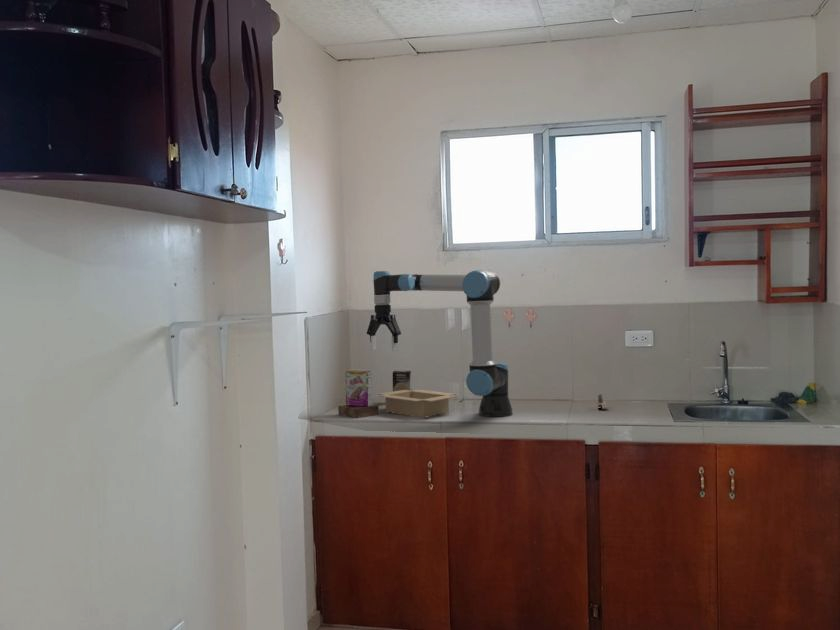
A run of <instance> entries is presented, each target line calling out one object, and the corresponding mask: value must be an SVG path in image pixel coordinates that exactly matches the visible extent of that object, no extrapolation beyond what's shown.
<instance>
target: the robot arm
mask: <svg viewBox="0 0 840 630" xmlns="http://www.w3.org/2000/svg"><path fill="white" fill-rule="evenodd" d="M372 281H373V295H374V296H373V303H374V313H375V314H371V315H370V321H369V325H368V327H367V330H366V335H368V336H369V340H370V344H371V345H370V349H371V351H376V350H378V349H377V335H376V333H377V331H378V330H379V328H380V326H381V325H385V326H386V327H387V329H388V330H389V332H390V334H391V351H398V342H399V338H398V336H400V335H401V334H402V332H401V329H400V327H399V323H398V322H397V319H396V317H397V316H396V315H395V314H391V312H392V310H391V307H392V306H391V305H390V304H391V292H408V291H415V292H416V291H421V292H423V291H425V292H426V291H428V292H429V291H431V292H463V293H464V294H465V296H466V303H467V304H468V305H469V306H470V322H471V323H470V324H471V347H472V348H471V350H472V351H471V352H472V353H471V354H472V361H471V362H470V363H469V364H468V365H469V373H468V374H467V375H466V380H465V385H466V387H467V389H468V391H470V392H471V394H473V395H475V396H478V397H481V399H480V400H481V401H480V405H479V408H478V414H479V415H480V416H485V417H506V416H507V415H508V416H511V415H513V407H512V404H511V400H510V398H509V366H508V365H507V364H506V363H499V362H498V363H497V362H495V361H494V360H493V343H492V342H493V341H492V340H493V339H492V337H493V336H492V315H491V314H492V312H491V305H492V304H493V302H494V299H495V298H494V296H495V294H497V293H498V291H499V289H500V287H501V280H500V278H499V275H498V274H497V273H495V272H494V271H491V270H483V269H476V270H471V271H470V272H468V273H467V274H416V273H415V274H411V273H410V274H409V273H408V274H407V273H403V274H390V271H388V270H379V271H377V270H376V271H374V273H373V280H372ZM508 416H507V417H508Z"/></svg>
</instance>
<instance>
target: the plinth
mask: <svg viewBox="0 0 840 630" xmlns="http://www.w3.org/2000/svg"><path fill="white" fill-rule="evenodd" d="M337 407H338V409H337V410H338V416H343V417H348V416H350V418H354V417H357V418H356V419H359V418H358V417H361V418H365V417H364V416H366V417H370V416H369V415H371V416H375V415H374V414H377V415H379V413H380V412H379V411H380V410H379V408H380V407H379V404H377V405H376V404H372V405H371V406H369V407H359V406H346V404H344V405H339V406H337Z"/></svg>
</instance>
